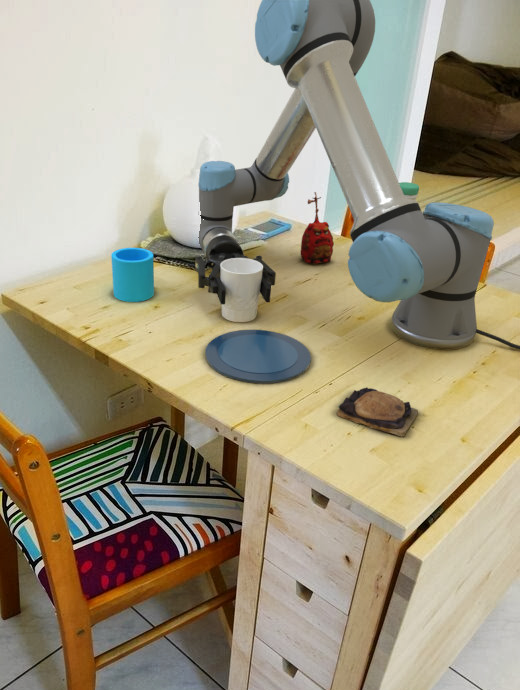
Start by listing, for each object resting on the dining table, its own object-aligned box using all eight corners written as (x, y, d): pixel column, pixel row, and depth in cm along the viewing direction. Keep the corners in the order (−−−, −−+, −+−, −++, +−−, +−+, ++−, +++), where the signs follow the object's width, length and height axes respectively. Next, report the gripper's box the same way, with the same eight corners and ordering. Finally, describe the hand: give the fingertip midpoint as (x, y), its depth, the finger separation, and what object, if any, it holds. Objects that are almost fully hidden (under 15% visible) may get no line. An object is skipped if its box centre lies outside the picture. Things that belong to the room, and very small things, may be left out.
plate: (325, 348, 114) (325, 344, 114) (285, 395, 101) (286, 391, 100) (234, 324, 121) (234, 320, 121) (185, 365, 107) (185, 361, 107)
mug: (158, 299, 129) (158, 260, 125) (118, 304, 127) (116, 264, 122) (143, 277, 138) (142, 239, 134) (105, 281, 136) (103, 243, 132)
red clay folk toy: (308, 267, 147) (316, 200, 139) (293, 257, 152) (299, 192, 144) (336, 263, 149) (346, 197, 141) (320, 253, 155) (328, 189, 147)
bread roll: (420, 413, 98) (425, 392, 96) (402, 440, 92) (407, 419, 90) (354, 391, 102) (357, 371, 100) (332, 415, 96) (336, 394, 94)
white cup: (215, 322, 121) (217, 271, 116) (220, 304, 128) (222, 256, 123) (257, 325, 121) (261, 275, 115) (260, 308, 127) (264, 259, 122)
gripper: (268, 267, 140) (298, 312, 121) (174, 270, 136) (189, 317, 117) (271, 233, 136) (302, 274, 117) (174, 235, 132) (190, 278, 113)
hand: (246, 296), depth 117 cm, fingers closed on white cup, 8 cm apart
